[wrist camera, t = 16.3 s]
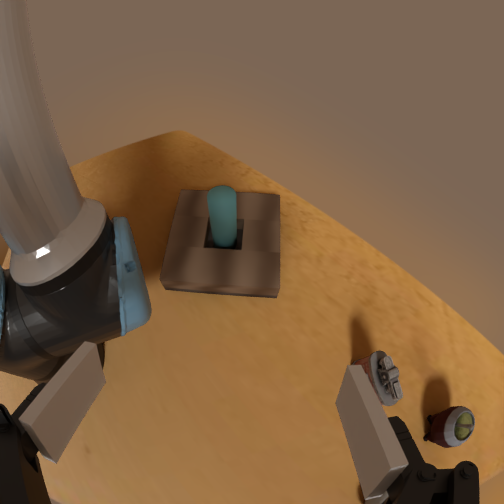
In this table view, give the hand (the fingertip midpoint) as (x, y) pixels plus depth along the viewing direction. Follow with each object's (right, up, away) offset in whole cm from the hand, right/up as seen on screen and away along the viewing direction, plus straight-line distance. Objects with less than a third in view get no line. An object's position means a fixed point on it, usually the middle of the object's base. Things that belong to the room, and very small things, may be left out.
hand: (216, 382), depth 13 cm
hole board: (-3, +8, +36) cm, 37 cm away
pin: (-3, +8, +35) cm, 36 cm away
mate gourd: (+32, -23, +20) cm, 45 cm away
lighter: (+19, -14, +25) cm, 34 cm away
